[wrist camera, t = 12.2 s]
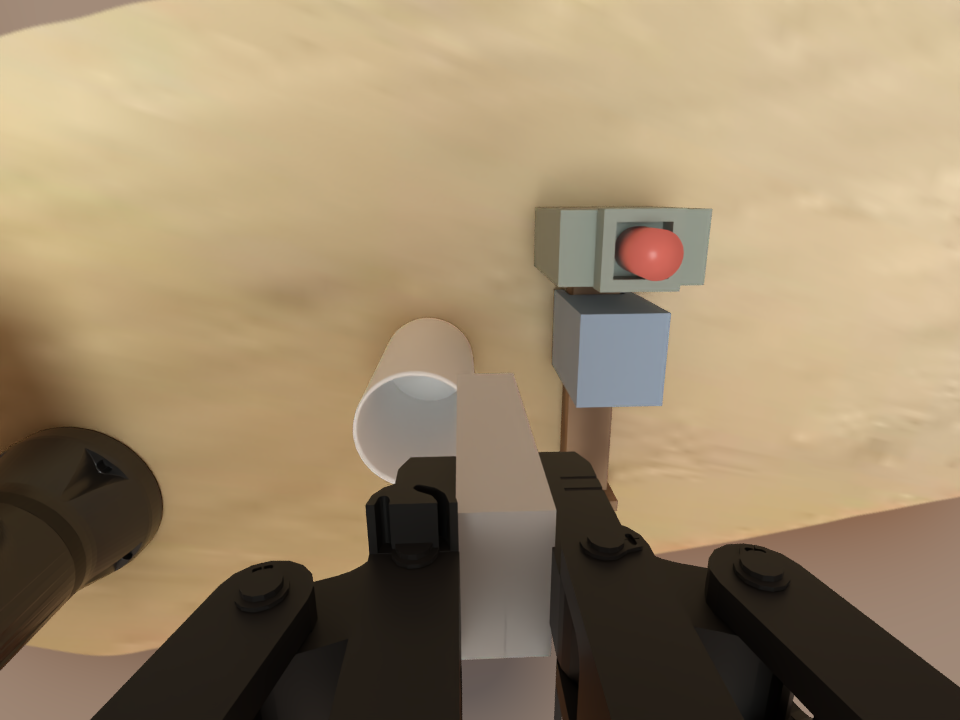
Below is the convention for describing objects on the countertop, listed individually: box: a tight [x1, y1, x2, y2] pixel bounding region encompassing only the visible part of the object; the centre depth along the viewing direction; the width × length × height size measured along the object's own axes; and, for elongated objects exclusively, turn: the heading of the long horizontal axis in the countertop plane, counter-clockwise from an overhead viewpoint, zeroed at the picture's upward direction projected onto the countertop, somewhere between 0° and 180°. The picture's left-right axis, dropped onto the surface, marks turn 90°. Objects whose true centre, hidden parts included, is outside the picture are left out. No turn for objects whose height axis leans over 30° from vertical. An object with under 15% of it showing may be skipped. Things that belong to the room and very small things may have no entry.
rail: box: [560, 287, 620, 511], centre depth 49 cm, size 5×21×5 cm, turn 0°
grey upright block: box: [534, 207, 712, 293], centre depth 40 cm, size 11×5×14 cm, turn 90°
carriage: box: [552, 290, 671, 408], centre depth 44 cm, size 6×7×11 cm
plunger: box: [615, 226, 684, 281], centre depth 33 cm, size 3×3×4 cm
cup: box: [353, 318, 475, 484], centre depth 42 cm, size 8×8×16 cm
